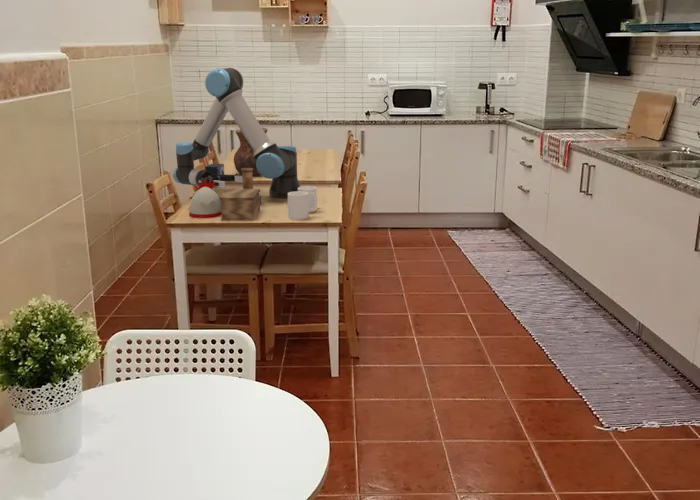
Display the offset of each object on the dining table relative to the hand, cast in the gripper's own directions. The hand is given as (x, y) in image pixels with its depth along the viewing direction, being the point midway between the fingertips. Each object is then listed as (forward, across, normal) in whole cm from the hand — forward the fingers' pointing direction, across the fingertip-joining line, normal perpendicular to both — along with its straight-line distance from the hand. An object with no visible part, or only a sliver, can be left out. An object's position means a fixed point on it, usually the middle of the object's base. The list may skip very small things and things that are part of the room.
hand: (235, 182), depth 308 cm
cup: (+42, +7, -10) cm, 44 cm away
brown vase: (-43, -61, -10) cm, 75 cm away
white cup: (+37, -3, -10) cm, 38 cm away
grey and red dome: (+4, +23, -10) cm, 26 cm away
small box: (-39, -27, -10) cm, 48 cm away
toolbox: (+14, +10, -9) cm, 20 cm away
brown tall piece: (+7, 0, -9) cm, 12 cm away
